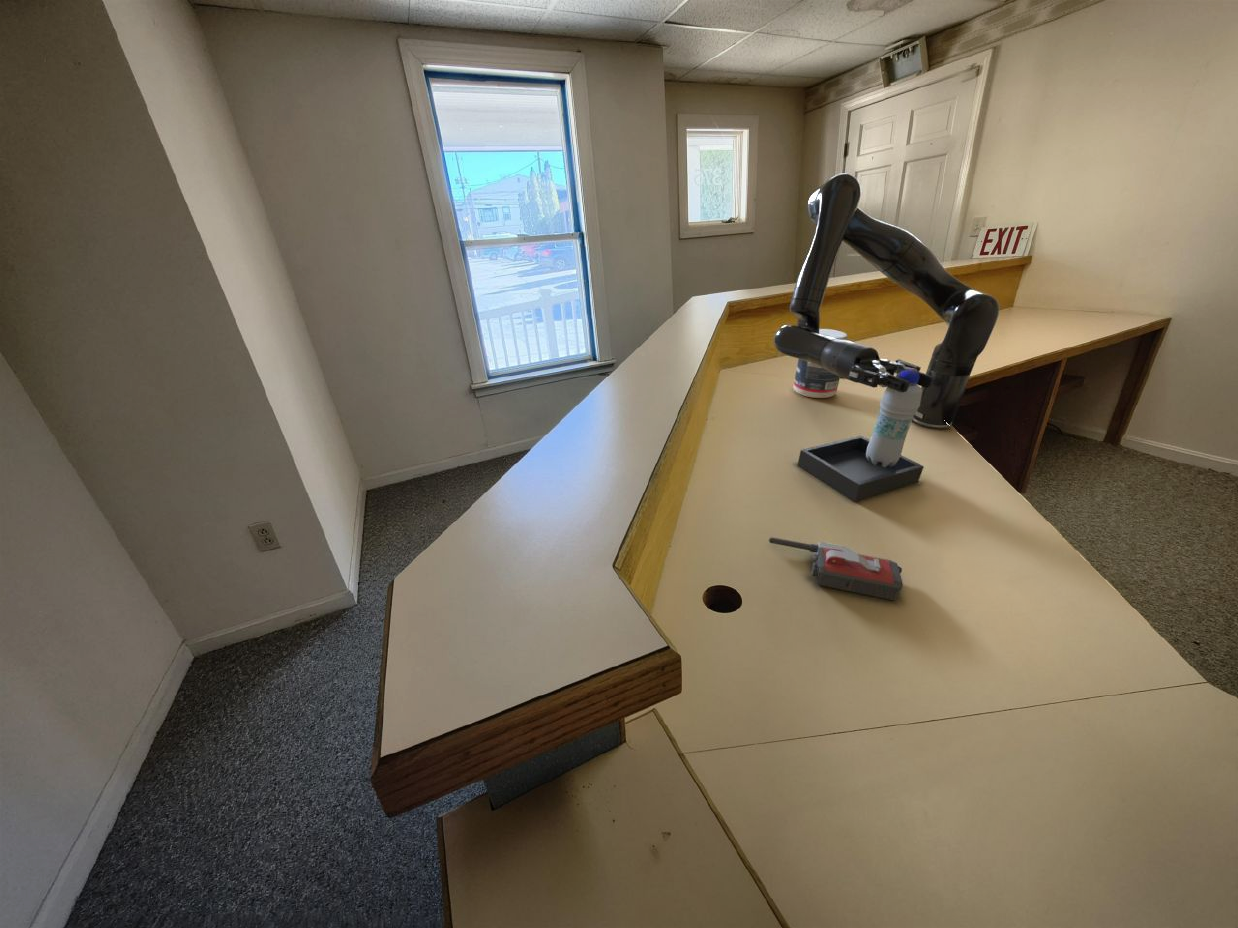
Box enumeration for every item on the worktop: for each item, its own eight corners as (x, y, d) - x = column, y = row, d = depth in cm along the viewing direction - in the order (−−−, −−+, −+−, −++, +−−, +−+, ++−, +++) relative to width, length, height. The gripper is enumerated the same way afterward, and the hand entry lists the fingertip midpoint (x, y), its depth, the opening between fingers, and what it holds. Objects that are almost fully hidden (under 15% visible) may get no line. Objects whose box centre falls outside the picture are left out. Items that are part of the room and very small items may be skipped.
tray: (856, 450, 108) (860, 435, 106) (917, 482, 96) (924, 466, 94) (797, 465, 102) (800, 449, 100) (854, 502, 90) (859, 484, 88)
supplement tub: (795, 383, 149) (805, 326, 140) (837, 388, 145) (851, 330, 135) (789, 396, 139) (800, 336, 130) (834, 402, 135) (849, 340, 125)
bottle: (902, 471, 92) (937, 377, 82) (867, 468, 94) (897, 375, 84) (892, 455, 98) (923, 366, 88) (859, 452, 99) (886, 364, 89)
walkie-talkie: (895, 566, 74) (768, 541, 79) (904, 545, 71) (772, 521, 77) (906, 605, 66) (765, 575, 72) (916, 583, 64) (769, 554, 70)
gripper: (826, 346, 94) (898, 370, 81) (877, 339, 99) (952, 360, 85) (818, 380, 98) (885, 409, 84) (867, 372, 103) (938, 398, 89)
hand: (918, 384), depth 85 cm, fingers closed on bottle, 5 cm apart
